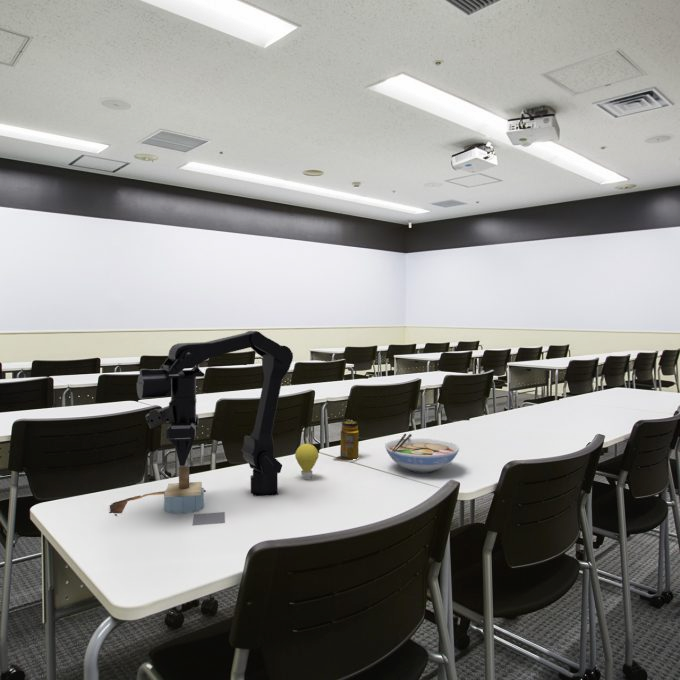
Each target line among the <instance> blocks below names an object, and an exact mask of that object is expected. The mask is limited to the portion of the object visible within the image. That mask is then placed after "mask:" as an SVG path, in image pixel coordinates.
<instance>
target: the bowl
mask: <svg viewBox="0 0 680 680" xmlns="http://www.w3.org/2000/svg"><path fill="white" fill-rule="evenodd" d="M166 490H167V489H165V490H164V491H165V493H166ZM204 490H205V488H204V487H202V488H201V495H194V496H177V497H165V493H164V494H163V499H164V500H163V506H164V507H163V508H164V511H165V512H167V513H170V514H176V515H177V514H178V515H179V514H180V515H182V514H183V515H185V514H190V513H194V512H198V511H201V510H202V509H203V508H204V504H205V502H204V501H205V500H204V499H205V492H204Z"/></svg>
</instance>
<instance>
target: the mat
mask: <svg viewBox="0 0 680 680" xmlns="http://www.w3.org/2000/svg"><path fill="white" fill-rule="evenodd" d="M216 524H218V525H219V524H226V513H225V511H222V512H221V511H220V512H219V511H218V512H207V513H205V512H203V513H194V514H193V518H192V524H191V525H192V526H203V525H216Z"/></svg>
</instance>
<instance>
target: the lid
mask: <svg viewBox="0 0 680 680" xmlns="http://www.w3.org/2000/svg"><path fill="white" fill-rule="evenodd" d="M202 484H203V482H202V481H193V482H191V481H190V465H184V466H180V465H179V466H178V483H177V482H175V483H168V484H167V486H166V489H165V490H166V493H165V497H177V496H194V495H201V488H203V487H202V486H203V485H202Z"/></svg>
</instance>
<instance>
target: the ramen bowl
mask: <svg viewBox="0 0 680 680" xmlns="http://www.w3.org/2000/svg"><path fill="white" fill-rule="evenodd" d="M412 435H413V434H412V433H409V434H408V435H407V433H404V434H403V435H402V436H401V438H400V439H395V440H394V439H393V440H389V441H388V442H385V444H384V448H385V450H386V452H387V454H388V455H389V457H390V458H391V459H392V460H393V461H394V462H395V463H396V464H398V465H399V466H400V467H402V468H405V469H408V470H409V471H411V472H414V473H421V474H425V473H431V472H434V471H436V470H440V469H443V468H444V467H446V466H448V465H449V464H450V463H452V461H453V460H454V459H455V458H456V456H457V455H458V452H459V451H460V447H459V445H457V444H456V443H453V442H448V441H445V440H440V439H435V438H434V439H432V438H421V437H420V438H418V437H417V438H414V437H412Z"/></svg>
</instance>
